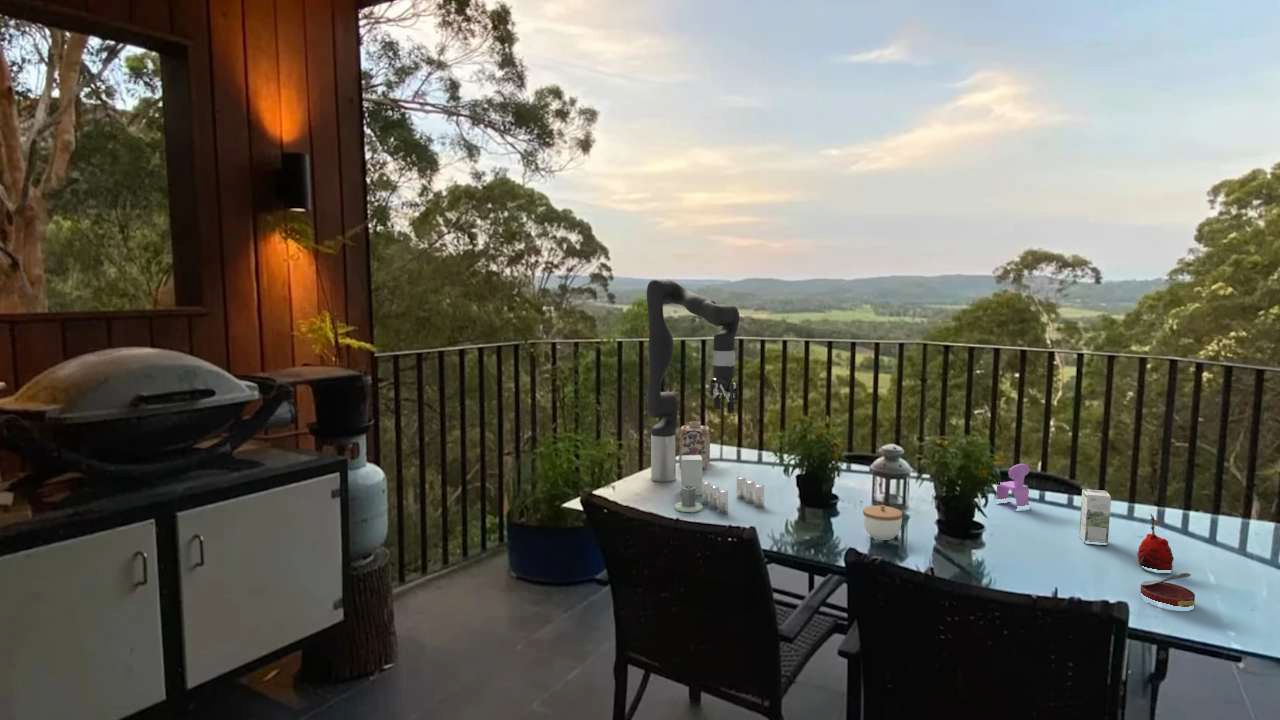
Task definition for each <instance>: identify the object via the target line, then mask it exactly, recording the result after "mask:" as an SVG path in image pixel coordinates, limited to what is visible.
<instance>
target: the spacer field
mask: <svg viewBox="0 0 1280 720" xmlns="http://www.w3.org/2000/svg"><path fill="white" fill-rule="evenodd" d="M746 479H747V477H745V476H737V477H736V499H739V500H745V503H746V504H754V507H755V508H758V509H762V508H764V507H765V485H764V484H756V481H755V480H746ZM700 496H701V497H700V498H701V501H700V502H701V503H700V504H702V505H705V504H707V505H709V509H712V510H718V514H722V515H727V514H728V513H729V490H728V489H727V490H726V489H720V486H718V485H711V482H710V481H702V483H701V495H700Z"/></svg>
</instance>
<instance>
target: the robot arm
mask: <svg viewBox="0 0 1280 720" xmlns="http://www.w3.org/2000/svg"><path fill="white" fill-rule="evenodd" d="M646 304H647V315H648V318H647V319H648V378H647V379H648V380H647V390H646V393H647V394H646V411H647V414H648V415H649V417H652V418H661V420H659V422H657V423H656V424H654V425H652V426H651V428H650V432H651V434H650V437H651V438H650V442H651V443H650V444H651V447H650V448H651V449H650V450H651V453H650V471H651V472H650V476H651V480H652V481H653V482H659V483H665V482H666V483H668V482H673V481H676V479H677V476H676V475H677V472H676V471H677V466H676V463H677V462H676V461H677V457H676V456H677V455H676V449H677V448H676V446H677V445H676V442H677V441H676V440H677V439H676V434H677V433H676V430H677V427H678V415H679V413H678V412H679V403H678V397H677V395H676V394H675V392H673V391H661V389H662V382H663V379H664V376H665V375H666V372H667V371H668V369H669V367H670V366H671V364H672V363H673V358H674V339H673V335H672V333H671V331H670V329H669V327H668V325H667V323H666V321H665V316H664V305H670V304H672V305H673V304H674V305H679V306H682V307H684V308H685V309H686V310H687V311H688V312H689V313H691V314H693V315H695V316H697V317H700V318H702V319H704V320H705V321H707V322H708V323H709V324H711V325H713V326H715V327H716V326H717V327H721V331H720V332H718V333H715V334H714V336H713V354H712V377H713V378H711V379H710V385H709V387H710V388H709V389H710V390H709V391H710V392H709V395H710V396H711V397H712V399H713V408H714V410H720V409H721V403H722V402H721V397H722V395H723V396H724V397H725V398H726V401H727V402H726V412H727V414H733V413H734V411H735V402H737V401H739V384H738V382H733V379H734V378H735V377H736V354H735V338H736V334H737V331H738V327H739V322H740V312H739V309H738V307H736V306H735V305H733V304H717V302H716V301H714V300H713V299H711V298H709V297H705V296H703V295H700V294H697V293H695V292H693V291H690V290H689V289H687V288H686V287H683V286H682V285H681V284H679V283H678V282H676V281H674V280H673V279H668V278H665V279H664V278H663V279H658V278H657V279H652V280H650V281H649V282H648V284H647V287H646Z"/></svg>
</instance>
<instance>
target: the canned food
mask: <svg viewBox="0 0 1280 720" xmlns="http://www.w3.org/2000/svg"><path fill="white" fill-rule="evenodd" d="M1191 576H1192V573H1188V572H1186V573H1185V572H1183V573H1180V574H1178V575H1177V574H1172V575H1170V576H1168V577H1167V578H1164V579H1153V580H1149V581H1148V580H1147V581H1143V582H1141V583H1140V593H1142V594H1143V595H1144V596H1146V597H1148V598H1150V599H1152V600H1155V601H1158V602H1162V603H1166V604H1170V605H1173V606H1181V607H1189V606H1193V605H1194V606H1195V597H1196V594H1195V593H1194V592H1193V591H1192V590H1190V589H1189V588H1187V587H1184V586H1182V585H1179V584H1174V583H1173V582H1168V581H1173V580H1177V579H1178V580H1179V579H1183V578H1187V577H1191Z"/></svg>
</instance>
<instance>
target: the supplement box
mask: <svg viewBox="0 0 1280 720" xmlns="http://www.w3.org/2000/svg"><path fill="white" fill-rule="evenodd" d="M702 482H703V469H702V457H701V455H684V456H681V468H680V492H681V494H682V486H687V485H690V486H695V496H701V483H702Z"/></svg>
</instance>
